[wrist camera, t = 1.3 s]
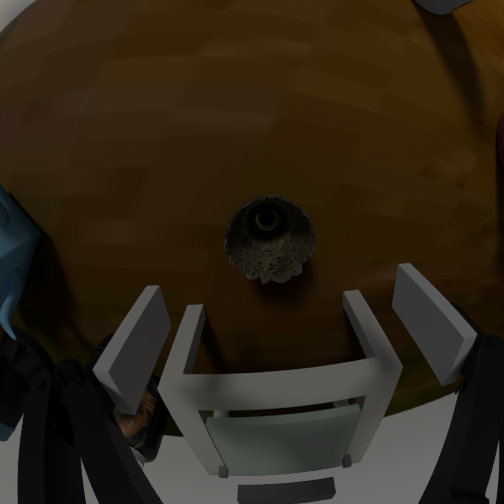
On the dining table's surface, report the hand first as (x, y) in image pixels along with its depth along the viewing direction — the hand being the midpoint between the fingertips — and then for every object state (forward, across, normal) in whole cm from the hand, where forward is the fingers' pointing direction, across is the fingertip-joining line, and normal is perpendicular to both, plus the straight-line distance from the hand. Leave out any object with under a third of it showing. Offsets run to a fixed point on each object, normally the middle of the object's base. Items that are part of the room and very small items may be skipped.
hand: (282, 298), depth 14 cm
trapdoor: (+2, 0, -26) cm, 26 cm away
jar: (+16, -24, -28) cm, 41 cm away
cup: (+17, 0, 0) cm, 17 cm away
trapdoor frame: (+16, 0, -21) cm, 27 cm away
